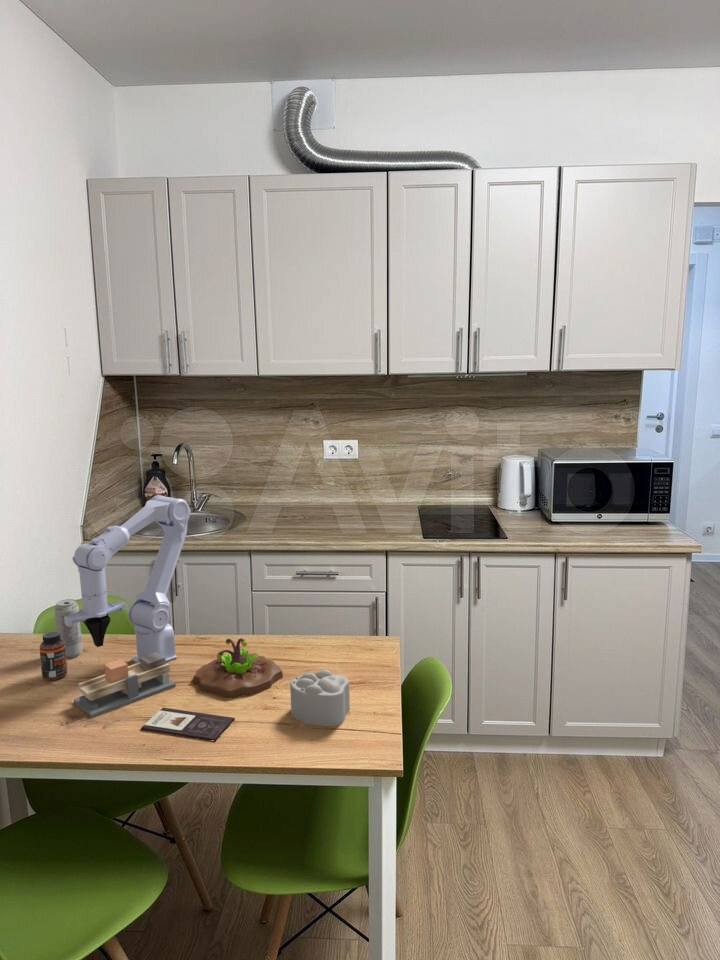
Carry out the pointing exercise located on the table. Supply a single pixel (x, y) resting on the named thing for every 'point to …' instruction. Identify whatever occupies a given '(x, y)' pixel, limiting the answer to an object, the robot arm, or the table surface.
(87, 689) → the beam
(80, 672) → the table surface
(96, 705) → the stand
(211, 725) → the chocolate bar
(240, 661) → the plant
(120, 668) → the block
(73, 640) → the energy drink can
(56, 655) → the supplement bottle
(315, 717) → the lumpy-topped squat cylinder
